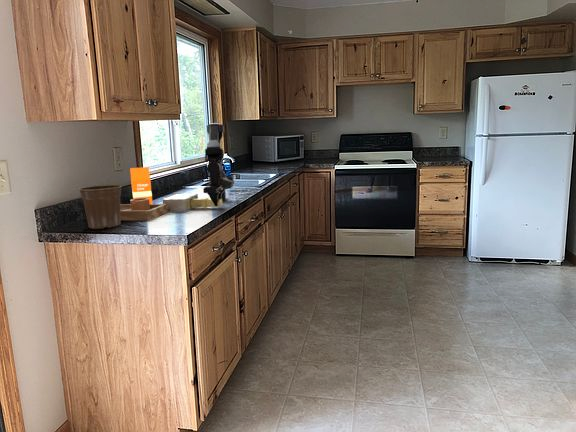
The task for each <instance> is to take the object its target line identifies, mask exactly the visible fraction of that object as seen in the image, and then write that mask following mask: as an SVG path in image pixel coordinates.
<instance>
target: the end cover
mask: <svg viewBox="0 0 576 432" xmlns="http://www.w3.org/2000/svg"><path fill="white" fill-rule="evenodd" d="M190 207H195V208H202V209H206V208H221V207H223V201H222V199H218V204H217V206H215V205H214V203H213V202H212V200H211V198H210V197H204V198H198V199H190Z"/></svg>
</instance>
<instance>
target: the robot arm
mask: <svg viewBox="0 0 576 432" xmlns="http://www.w3.org/2000/svg"><path fill="white" fill-rule="evenodd" d="M224 126H225V125H224V124H222V123H218V122H213V123H212V122H211V123H209V124H207V125H206V133H207V134H208V138H209V141H208V143H206V147H205V148H204V150H205V151H204V157H205V158H204V161H205V162H208V164H207V165H206V171H207V172H208V175H207V178H208V179H209V183H207V184H208V185H207V186H204V188H203V194H207V195H208V198H209V199H211V200H212V202H213V203H214V205H215V206H217V204H218V199H222V202H225V201H227V200H229V198H227V196H226V195H227V194H226V190H228V189H231V188H233V186H234V184H235V180H234V177H232V176H229V177H227V176H226V173H225V172H224V171H223V165H222V163H223V162H222V161H223V159H224V150H223V148H222V147H221V145H222V144H221V140H222V139H223V136H224V133H225V127H224Z"/></svg>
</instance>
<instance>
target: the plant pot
mask: <svg viewBox="0 0 576 432" xmlns="http://www.w3.org/2000/svg"><path fill="white" fill-rule="evenodd" d="M122 187H123V185H120V184H106V185H93V186H91V185H90V186H85V187H84V186H83V187H80V188H78V191H79V192H80V197H81V200H82V202H83V206H84V211H85V217H86V219H87V225H88V228H89V229H92V230H93V229H94V230H100V229H105V228H108V229H110V228H116V227H118V226H120V225H121V224H122V223H121V221H122V220H121V219H120V204H121V197H122Z"/></svg>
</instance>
